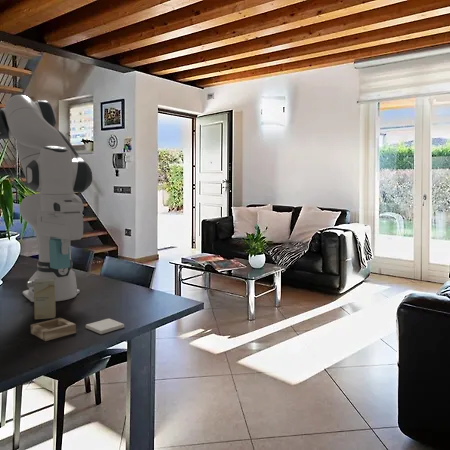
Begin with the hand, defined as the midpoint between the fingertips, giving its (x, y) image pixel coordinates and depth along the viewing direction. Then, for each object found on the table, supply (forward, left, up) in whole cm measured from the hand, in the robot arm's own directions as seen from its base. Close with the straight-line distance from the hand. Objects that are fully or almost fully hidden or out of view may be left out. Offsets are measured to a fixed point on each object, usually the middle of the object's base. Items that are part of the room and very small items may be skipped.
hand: (59, 253), depth 123 cm
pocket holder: (-1, -2, -23) cm, 23 cm away
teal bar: (0, 0, -4) cm, 4 cm away
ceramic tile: (+6, +10, -23) cm, 26 cm away
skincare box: (-17, +3, -23) cm, 29 cm away
